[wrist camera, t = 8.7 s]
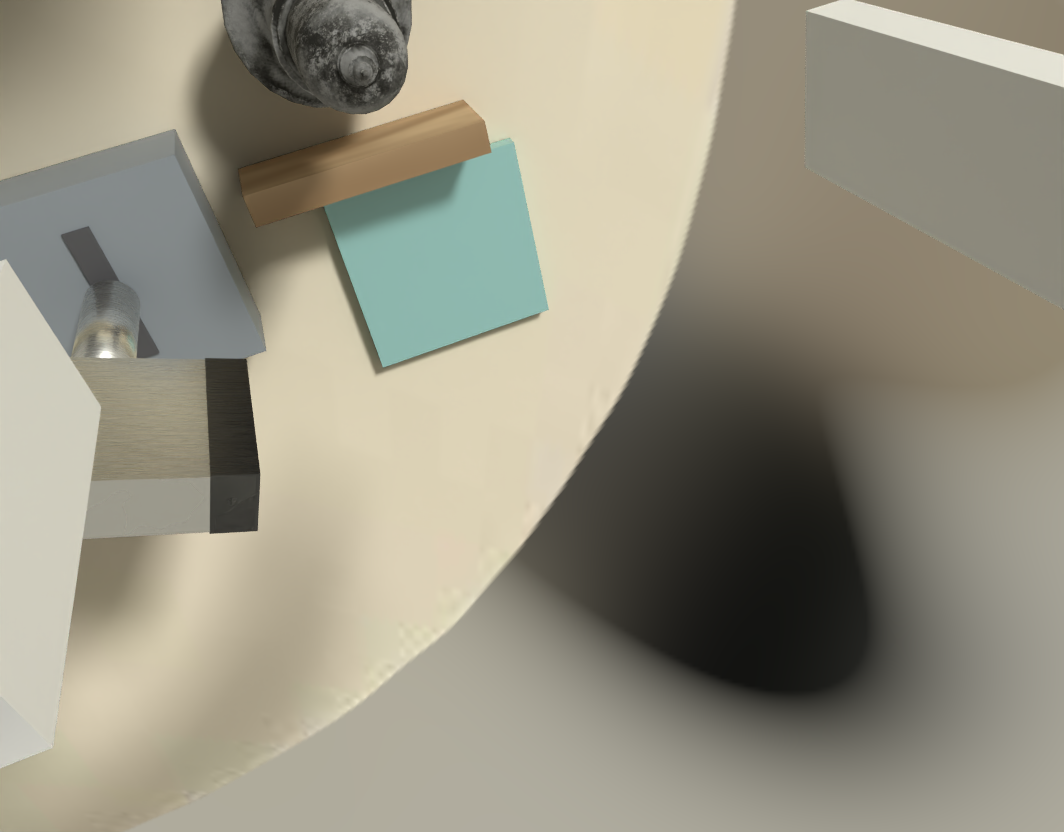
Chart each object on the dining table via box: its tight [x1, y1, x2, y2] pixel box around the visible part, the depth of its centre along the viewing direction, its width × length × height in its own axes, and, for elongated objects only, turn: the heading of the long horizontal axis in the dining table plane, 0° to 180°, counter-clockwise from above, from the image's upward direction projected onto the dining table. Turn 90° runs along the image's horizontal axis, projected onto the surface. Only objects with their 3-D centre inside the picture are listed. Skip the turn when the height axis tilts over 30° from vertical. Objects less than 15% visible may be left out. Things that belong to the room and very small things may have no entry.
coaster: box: [324, 138, 549, 368], centre depth 36 cm, size 8×8×1 cm
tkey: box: [70, 280, 260, 539], centre depth 25 cm, size 8×2×11 cm, turn 79°
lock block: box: [0, 129, 266, 359], centre depth 31 cm, size 8×8×3 cm
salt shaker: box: [221, 0, 412, 114], centre depth 25 cm, size 6×6×12 cm
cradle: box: [238, 100, 492, 228], centre depth 28 cm, size 12×9×3 cm
